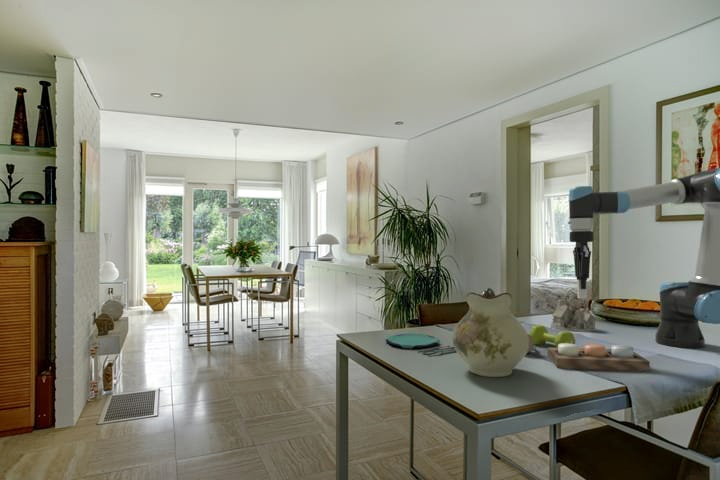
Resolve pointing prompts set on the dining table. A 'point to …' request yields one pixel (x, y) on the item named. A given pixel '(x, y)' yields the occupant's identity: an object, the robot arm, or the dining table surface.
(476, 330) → the pitcher
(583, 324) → the ceramic cottage
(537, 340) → the dumbbell
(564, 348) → the cream button
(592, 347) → the terracotta button
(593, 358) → the wooden compartment tray
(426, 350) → the cutlery set
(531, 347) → the ceramic mug
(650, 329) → the dining table surface
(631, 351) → the grey button
